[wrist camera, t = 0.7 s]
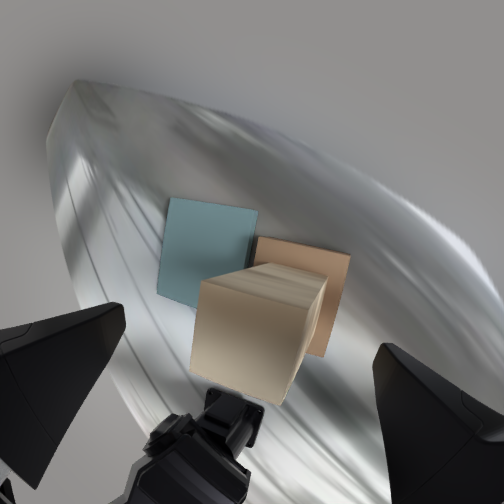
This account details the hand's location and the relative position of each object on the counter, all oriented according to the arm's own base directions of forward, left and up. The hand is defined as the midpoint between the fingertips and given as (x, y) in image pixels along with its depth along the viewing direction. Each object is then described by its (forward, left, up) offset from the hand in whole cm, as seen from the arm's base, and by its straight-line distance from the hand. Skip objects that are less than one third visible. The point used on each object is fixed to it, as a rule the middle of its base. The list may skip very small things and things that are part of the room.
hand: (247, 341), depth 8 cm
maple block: (-1, +1, -12) cm, 12 cm away
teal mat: (0, +10, -15) cm, 18 cm away
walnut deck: (-1, +1, -15) cm, 15 cm away
